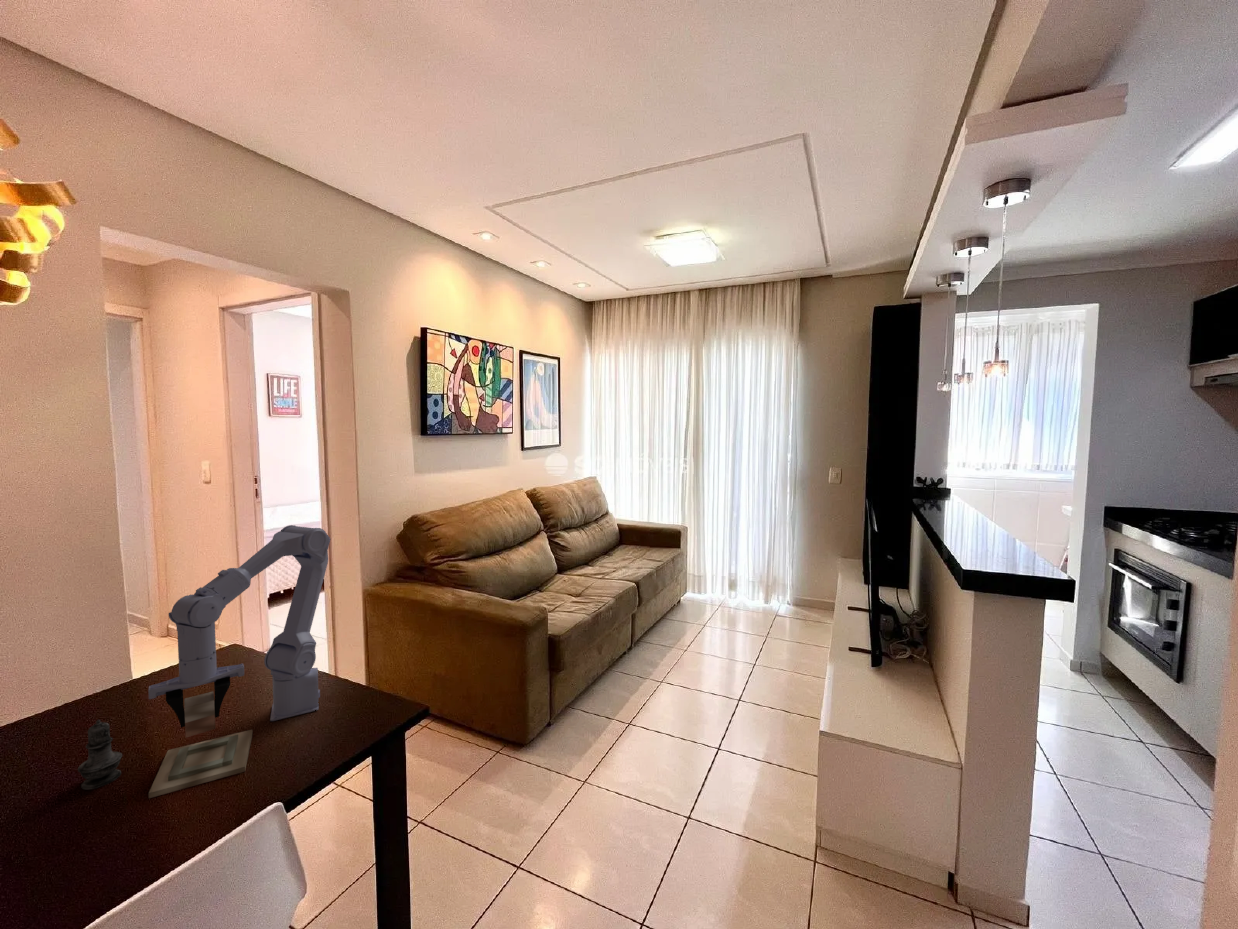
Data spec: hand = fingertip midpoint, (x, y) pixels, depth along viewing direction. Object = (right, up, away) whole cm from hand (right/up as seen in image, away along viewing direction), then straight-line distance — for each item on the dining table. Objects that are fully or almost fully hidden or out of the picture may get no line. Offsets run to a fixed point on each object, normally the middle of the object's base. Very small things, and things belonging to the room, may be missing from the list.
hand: (200, 720), depth 99 cm
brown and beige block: (0, -2, 0) cm, 2 cm away
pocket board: (+1, -9, 0) cm, 9 cm away
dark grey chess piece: (-14, -9, -6) cm, 18 cm away
